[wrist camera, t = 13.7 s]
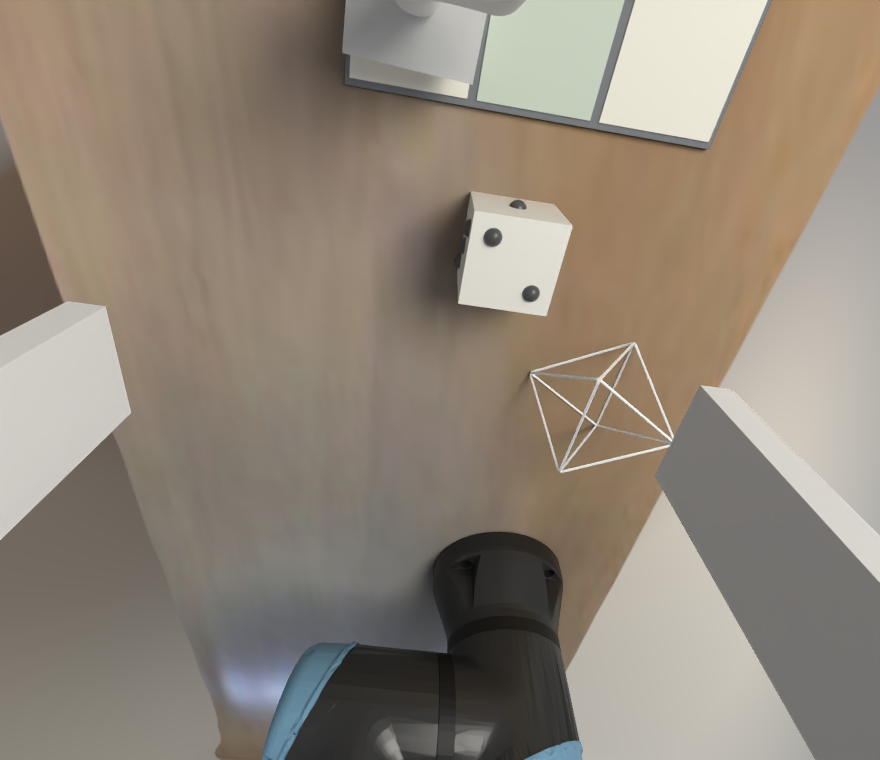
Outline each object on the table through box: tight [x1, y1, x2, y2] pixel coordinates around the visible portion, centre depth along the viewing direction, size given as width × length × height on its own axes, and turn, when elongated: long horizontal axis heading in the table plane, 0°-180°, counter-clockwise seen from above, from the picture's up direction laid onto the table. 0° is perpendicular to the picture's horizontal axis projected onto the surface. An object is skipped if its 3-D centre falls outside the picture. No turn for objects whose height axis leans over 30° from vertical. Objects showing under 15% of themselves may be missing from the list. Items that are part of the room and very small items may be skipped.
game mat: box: [345, 0, 772, 149], centre depth 27 cm, size 10×24×1 cm, turn 81°
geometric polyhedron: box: [530, 342, 674, 473], centre depth 38 cm, size 10×9×8 cm
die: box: [454, 191, 573, 316], centre depth 31 cm, size 6×6×6 cm
